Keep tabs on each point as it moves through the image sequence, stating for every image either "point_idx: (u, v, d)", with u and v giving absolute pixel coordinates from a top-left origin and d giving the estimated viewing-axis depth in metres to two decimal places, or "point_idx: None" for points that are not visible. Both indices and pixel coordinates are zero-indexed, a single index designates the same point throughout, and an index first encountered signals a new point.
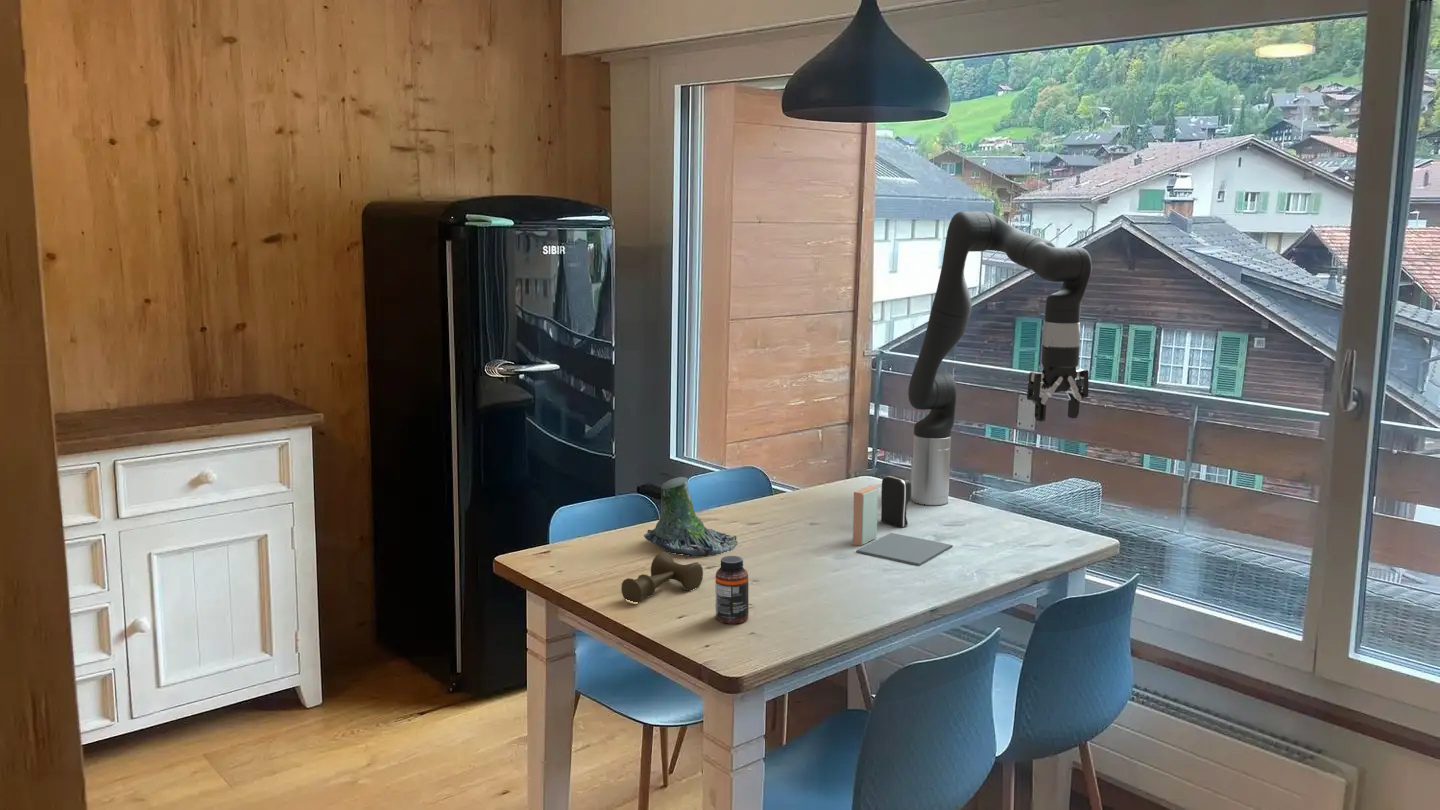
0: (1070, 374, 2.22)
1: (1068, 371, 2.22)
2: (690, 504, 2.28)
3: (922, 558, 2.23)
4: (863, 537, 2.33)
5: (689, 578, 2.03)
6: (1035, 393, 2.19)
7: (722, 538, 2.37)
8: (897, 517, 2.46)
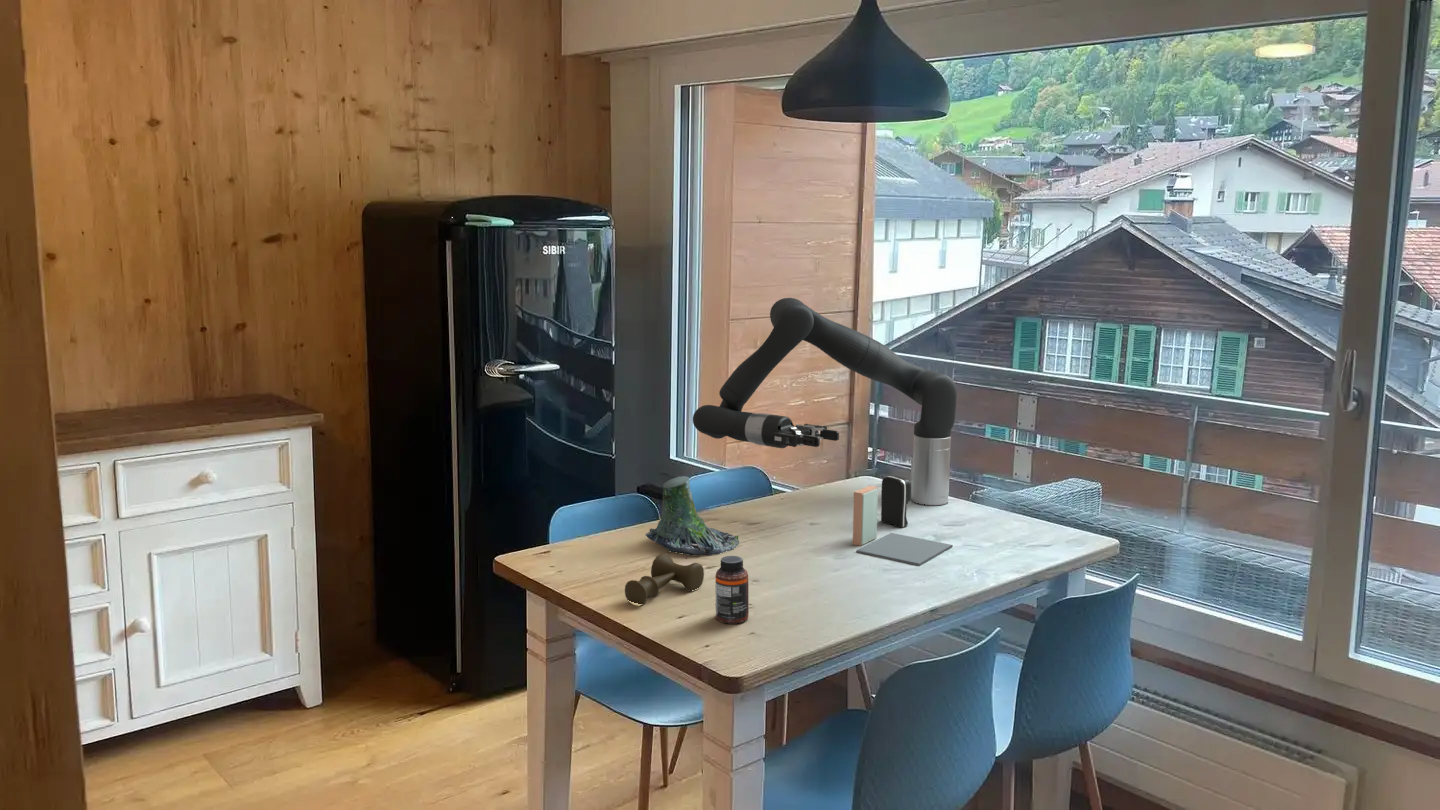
0: None
1: None
2: (691, 503, 2.29)
3: (922, 558, 2.23)
4: (863, 537, 2.33)
5: (691, 579, 2.03)
6: None
7: (724, 537, 2.38)
8: (897, 517, 2.46)
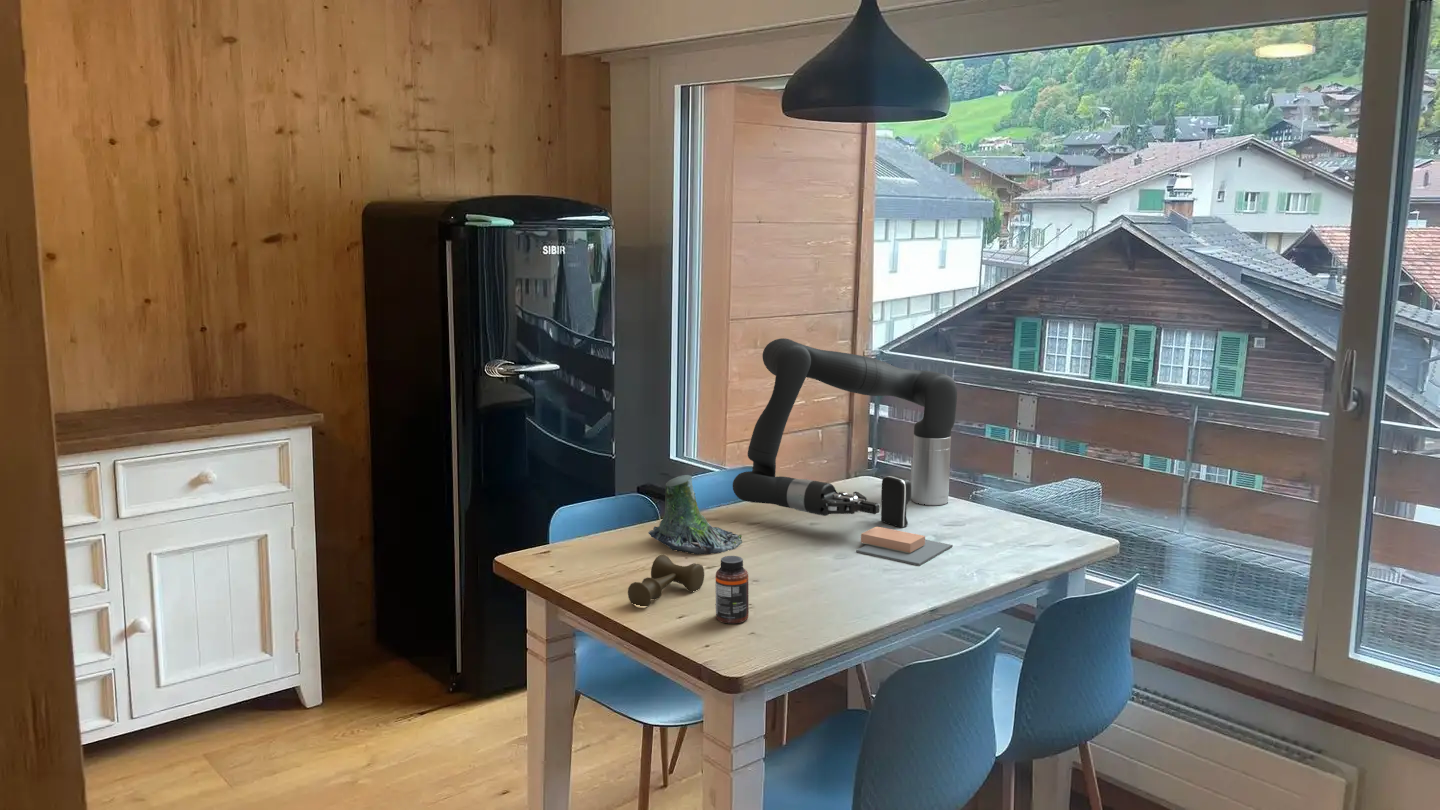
0: None
1: None
2: (694, 502, 2.30)
3: (922, 558, 2.23)
4: None
5: (693, 580, 2.02)
6: None
7: (728, 537, 2.38)
8: (897, 517, 2.46)
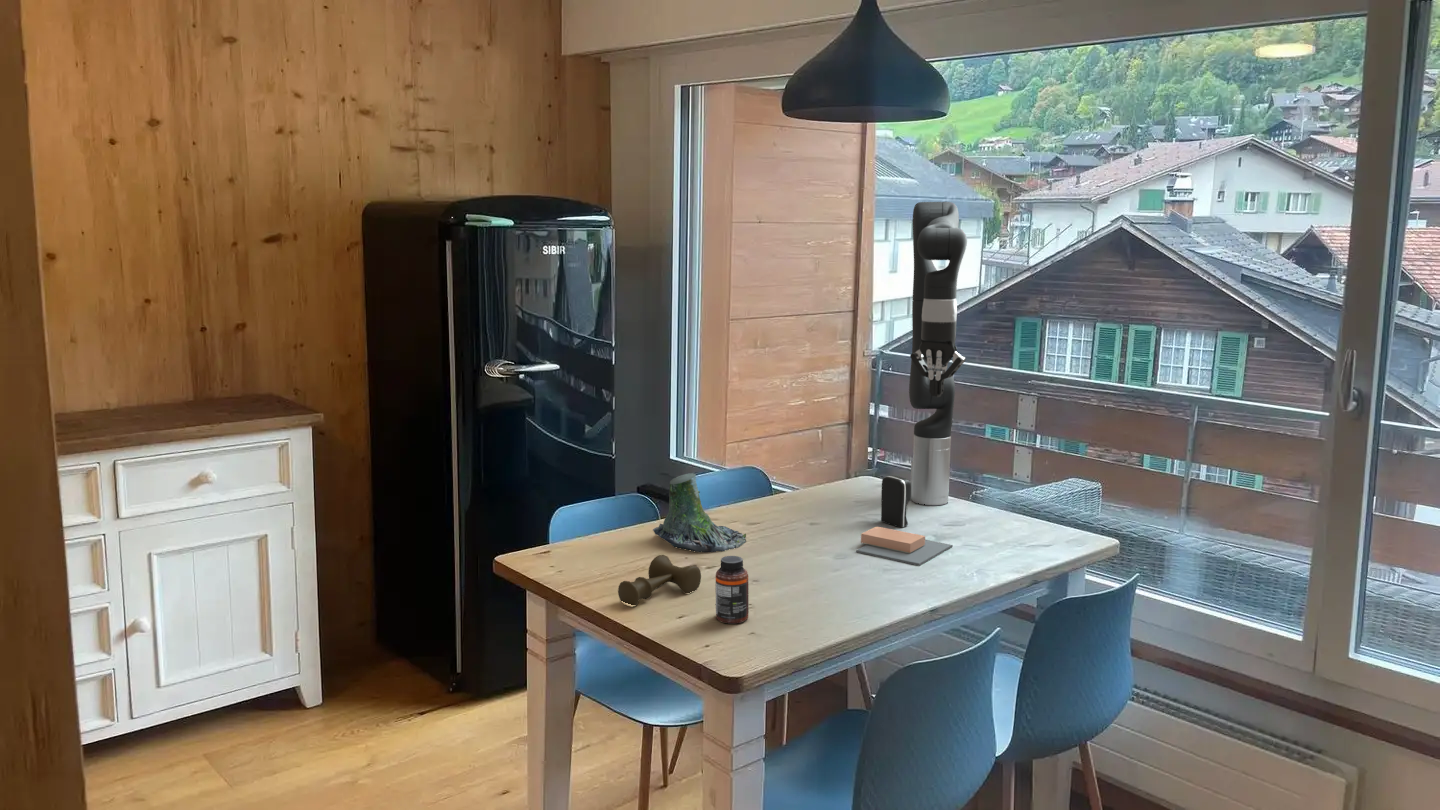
0: (945, 352, 2.32)
1: (942, 346, 2.32)
2: (697, 500, 2.32)
3: (922, 558, 2.23)
4: None
5: (687, 581, 2.02)
6: (919, 371, 2.36)
7: (733, 535, 2.39)
8: (897, 517, 2.46)
